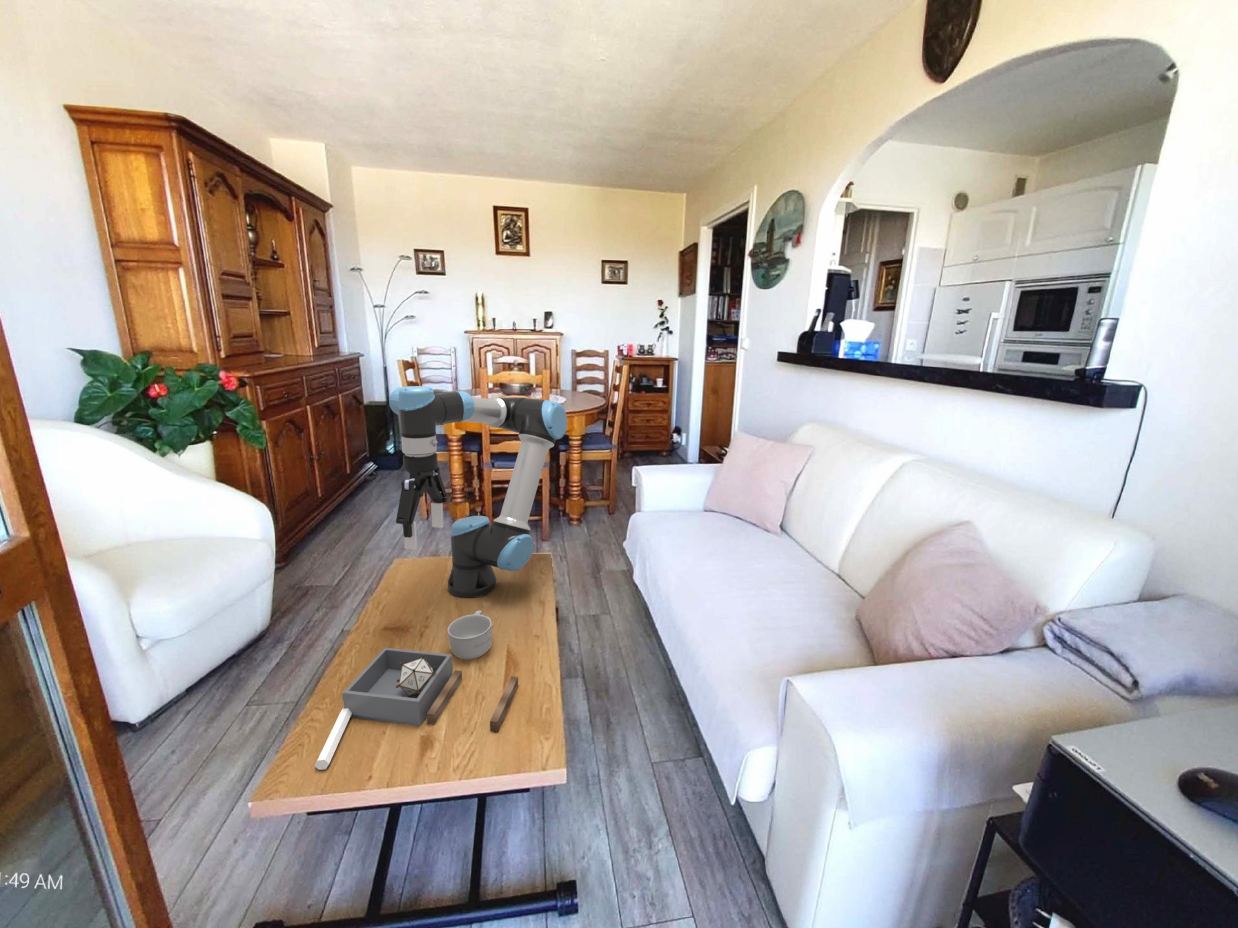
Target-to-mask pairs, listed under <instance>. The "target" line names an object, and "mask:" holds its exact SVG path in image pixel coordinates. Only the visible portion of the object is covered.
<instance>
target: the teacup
mask: <svg viewBox="0 0 1238 928" xmlns="http://www.w3.org/2000/svg"><path fill="white" fill-rule="evenodd" d="M492 622H493V621H492V619H491V618H490V617H489V616H486V615H484V614H483V611H482V610H476V611H475V612H474V613H473V614H467V615H463V616H459V617H458V618H456V619H455V620H453V621H452V622H451V623H450V624H449V625H448V626H447V635H448V640H449V641H448V642H449V647H450V650H451V652H452V653H453V655H454V656H456V657H457V658H460V659H462V660H475V659H478V658H480V657H482V656H483V655H484V654H485V653H487V652H488V650H489V649H490V647H492V643H493V628H492V625H493V623H492Z"/></svg>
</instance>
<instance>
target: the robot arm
mask: <svg viewBox="0 0 1238 928" xmlns="http://www.w3.org/2000/svg"><path fill="white" fill-rule="evenodd" d="M388 404H389V406H390V407H389V408H390V409H391V411H392V412H393V413H395V414H396V415H397V416H398V415H399V423H400V433H401V452H402V453H403V455H402V462H403V463H402V465H403V469H404V471H405V472H407V473H408V474H409V477H408V479H401V484H400V485H401V487H400V488H401V491H400V497H399V501H398V509H397V514H396V520H395V523H396V524H398V525H402V530H403V545H404V549H405V550H412V551H413V550H415V551H417V549H418V537H417V525H416V524H417V522H415V517H416V513H417V511H418V507H419V504H420V502H421V498H422V497H423V496H424V494H425V493H427V495H428V497H430V500H431V501H432V502H431V503H430V508H431V511H430V513H431V525H432V528H439V529H443V528H444V527H445V526H444V511H443V510H444V509H443V507H444V506H443V505H444V504H443V503H446V502H447V497H448V496H447V495H448V494H447V491H446V488H445V485H444V482H443V479H442V477H441V471H440V466H439V465H438V463H439V462H438V454H437V453H436V452H437V444H438V443H439V442H438V440H437V426H441V425H448V424H453V423H461V422H465V423H476V424H478V423H480V424H486V425H487V426H488V427H491V428H498V429H502V430H506V431H511V432H512V433H513V432H514V433H518V438H519V440H520V442H521V444H520V445H519V449H518V453H517V455H516V456H517V457H516V459H515V463H514V466H513V469H512V474H511V477H510V481H509V482H508V488H507V490H506V493H505V494H506V495H505V497H504V501H503V504H502V508H501V512H500V514H499V516H497V517H496V518H495V519H493V521H492V525H491V524H490V523H491V521H490V518H489V517H488V516H484V515H472V516H466V517H461V518H460V519H457V520H455V521H454V522H453V523H452V524H451V527H450V545H451V559H452V567H451V570H450V574H449V577H448V579H447V591H448V593H449V594H451V595H452V596H453V597H454V596H455V597H458V598H463V599H464V598H465V599H469V598H470V599H471V598H478V597H482V596H485V595H488V594H489V593H491V592H493V591H494V590H495V588H496V587H497V576H496V573H495V571H494V568H493V567H495V568H497V569H499V570H503V571H508V572H517V571H519V570H520V569H522V568H523V567H524V566H526V564H527V563H528V562H529V560H530V559H531V556H532V555H533V551H534V546H535V545H534V539H533V537H532V536H531V535H530V533H531V527H530V525H529V524H528V522H529V518H530V515H531V511H532V508H533V503H534V501H535V497H536V493H537V490H538V486H539V483H540V479H541V476H542V472H543V469H544V465H545V461H546V458H547V455H548V451H549V449H551V448H554V447H555V443H556V441H557V440H560V439H562V438H563V437H564V436H565V434H566V432H567V428H568V416H567V413H566V412H567V411H566V409H565V408H564V406H563V405H562V404H561V403H560V402H558V401H552V400H549V399H538V398H529V397H528V398H527V397H499V396H493V397H489V398H483V397H476V396H471V394H470V393H468V392H467V391H461V390H460V391H457V390H455V391H444V390H443V391H442V390H441V391H440V390H434V389H433V387H430V386H426V385H425V386H424V385H413V386H412V385H410V386H409V385H408V386H403V387H397V388H395V389H393V391H392V392H391V393H390V395H389V402H388Z"/></svg>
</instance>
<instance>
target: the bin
mask: <svg viewBox="0 0 1238 928" xmlns="http://www.w3.org/2000/svg"><path fill="white" fill-rule="evenodd" d="M424 654H425V657H424V659H425V660H426V661H427V662H428V664H429V665H430V666H431V667H432V668H433V667H436V668H435V669H434V670H433V672H436V674H433V677H432V678H431V679H430V681H429V682H428V684H427V685H426V686H425V688H424V689H423V691H422V692H421V693H419V694H416V695H413V696H410V698H408V695H407V694H406V693H405V692H404V691H403V690H402V689H401V688H400V687H398V688H395V687H396V685H399V682H397V680H398V679H399V680H400V674H401V668H402V665H400V663H399V662H402V664H406V663H408V662H411V661H414V660H417V659H420V658H422V656H423V655H424ZM453 673H454V671H453V656H452V654H449V653H440V652H432V651H431V652H430V651H422V650H411V649H404V648H394V647H393V648H392V647H383V649H382V650H381V651H380V652H379V653H378V654H377V655H376V656H375V658H373V659H372V661H371V662H370V663H369V664H368V665H367V666H366V667H365V668H363V670H362V672H360V674H358V676H357V677H355V679H354V680H353V681H352V682H351V683H350V684H349V685H348V686H347V688H346V689H344V690H343V692H342V693H341V694H342V700H343V701H342V702H343V709H344V708H349V710H350V711H351V712H352V714H351V716H350V718H351V719H358V720H367V721H376V722H383V723H392V724H401V725H408V726H417V727H421V725H422V724H423V723H424V721H425V720H426V719H427V712H428V711H429V709H430V708H431V706H432V705H433V703H434V702H435V700H436V699H437V697H438V696H439V694H440V693H441V691H442V690H443V688H444V687H445V685H446V683H447V682H448V680H449V679H450V677H451V676H452V674H453Z"/></svg>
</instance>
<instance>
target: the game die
mask: <svg viewBox="0 0 1238 928" xmlns="http://www.w3.org/2000/svg"><path fill="white" fill-rule="evenodd" d="M424 657H425V654H424V655H423V656H422V658H420V659H417V660H414V661H411V662H408V663H406V664H402V662H399V663H400V665H402V668H401V674H400V680H399V679H398V680H397V682H399V685H396V687H395V688H398V687H400V688H401V689H402V690H403V691H404V692H405V693H406V694H407V695H408V698H410V696H413V695H416V694H419V693H421V692H422V691H423V689H424V688H425V686H426V685H427V684H428V682H429V681H430V679H431V678H432V677H433V674H436V672H433V670H434V669H435V668H436V667H433V668H432V667H431V666H430V665H429V664H428V662H427V661H426V660H425V659H424Z"/></svg>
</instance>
